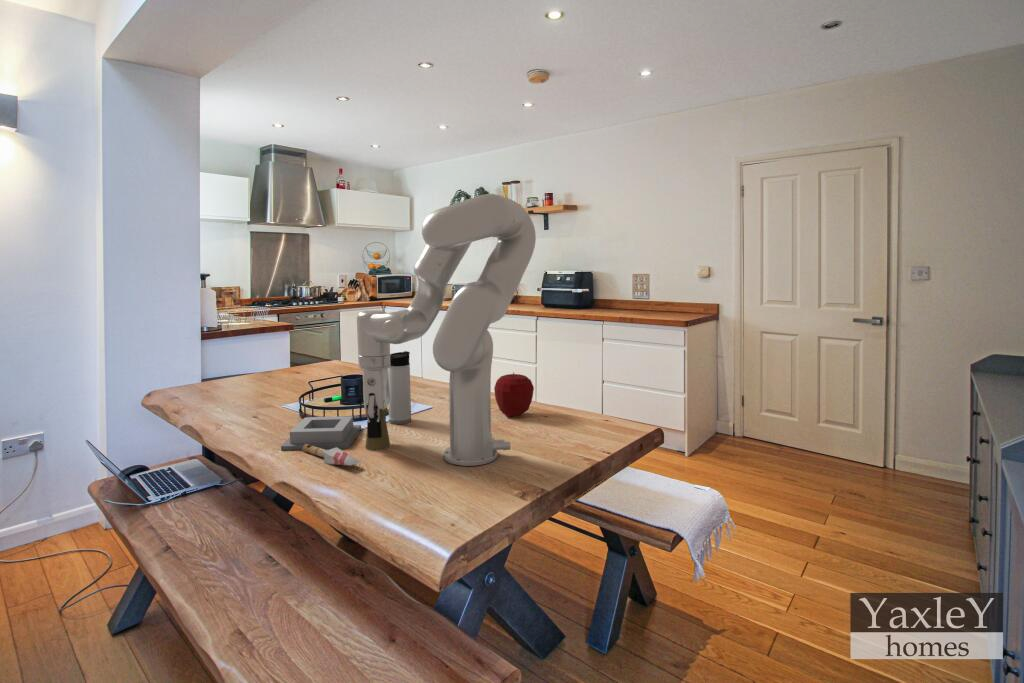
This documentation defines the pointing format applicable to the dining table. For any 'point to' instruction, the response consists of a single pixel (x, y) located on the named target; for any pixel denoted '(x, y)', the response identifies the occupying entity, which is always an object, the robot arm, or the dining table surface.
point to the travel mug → (399, 388)
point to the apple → (513, 394)
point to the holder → (323, 433)
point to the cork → (384, 441)
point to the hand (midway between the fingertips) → (377, 432)
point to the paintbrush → (331, 455)
